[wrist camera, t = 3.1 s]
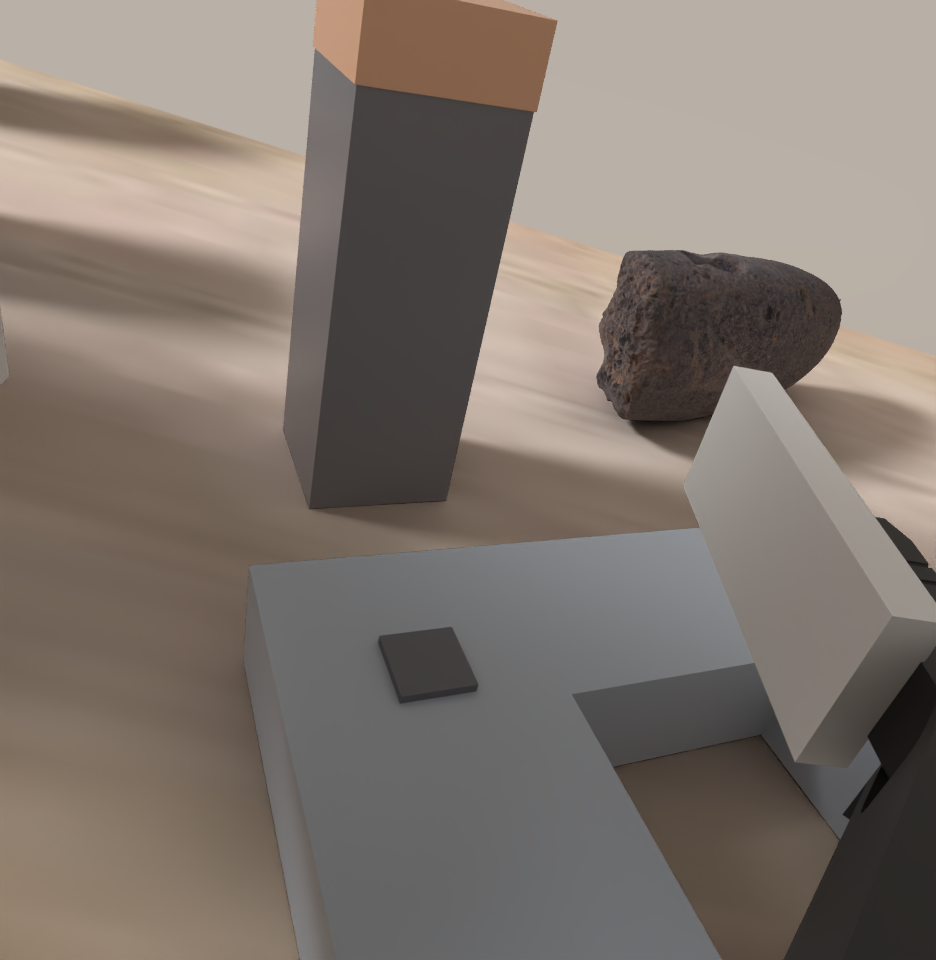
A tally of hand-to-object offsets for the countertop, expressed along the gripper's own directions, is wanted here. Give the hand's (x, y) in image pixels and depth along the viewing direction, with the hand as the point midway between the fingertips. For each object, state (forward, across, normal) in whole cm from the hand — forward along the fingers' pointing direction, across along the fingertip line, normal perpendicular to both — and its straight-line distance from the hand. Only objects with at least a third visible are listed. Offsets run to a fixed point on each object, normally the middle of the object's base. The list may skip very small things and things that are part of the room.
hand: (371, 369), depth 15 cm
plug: (+10, 0, -8) cm, 13 cm away
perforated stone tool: (+19, +14, -9) cm, 26 cm away
